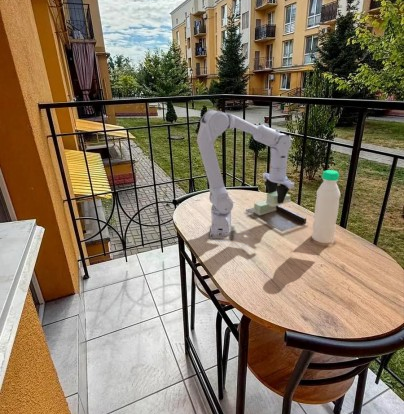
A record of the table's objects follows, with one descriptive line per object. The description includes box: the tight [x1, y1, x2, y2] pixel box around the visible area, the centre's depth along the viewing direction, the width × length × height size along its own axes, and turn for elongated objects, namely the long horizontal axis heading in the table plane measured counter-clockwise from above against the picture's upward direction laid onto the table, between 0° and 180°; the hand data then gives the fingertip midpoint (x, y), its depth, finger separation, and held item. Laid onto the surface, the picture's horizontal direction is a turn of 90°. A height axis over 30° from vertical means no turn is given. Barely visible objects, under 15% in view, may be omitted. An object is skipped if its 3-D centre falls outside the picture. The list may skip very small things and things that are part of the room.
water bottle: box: [311, 169, 341, 245], centre depth 92 cm, size 7×7×25 cm
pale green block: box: [266, 190, 292, 207], centre depth 107 cm, size 9×4×4 cm, turn 118°
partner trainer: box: [253, 199, 276, 216], centre depth 116 cm, size 9×4×4 cm, turn 118°
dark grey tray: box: [245, 205, 307, 232], centre depth 112 cm, size 12×22×4 cm, turn 28°
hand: (276, 200), depth 107 cm, fingers closed on pale green block, 4 cm apart
